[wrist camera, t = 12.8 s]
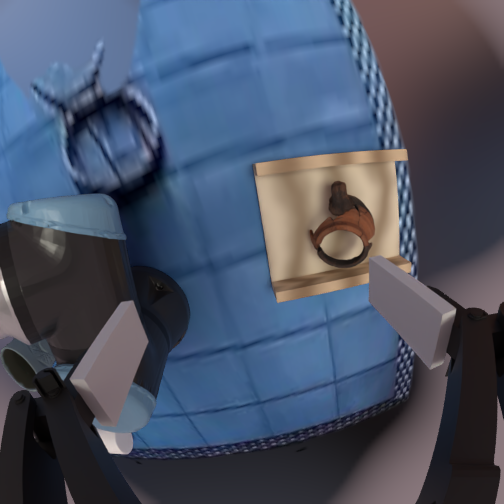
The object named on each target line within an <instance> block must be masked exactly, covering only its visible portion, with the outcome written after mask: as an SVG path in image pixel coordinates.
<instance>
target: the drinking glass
mask: <svg viewBox="0 0 504 504" xmlns="http://www.w3.org/2000/svg"><path fill="white" fill-rule="evenodd" d="M0 354H1V355H0V356H1V361H2V364H3V366H4V368H5V370H6V371H7V373H8V374H9V376H10V377H11V378H12V379H13V380H14V381H15V382H16V383H17V384H18V385H20V386H21V387H23V388H24V389H26V390H28V391H32V392H35V391H37V390H36V388H35V387H34V385H33V384H32V380H33V378H34V376H35V375H36V374H37V373H38V372H39V371H41V370H43V369H45V368H51V367H52V366H53V364H54V362H55V361H56V360H55V357H54V355H53V353H52V351H51V349H50V347H49V344H48V342H47V340H46V339H44V340H41V341H39V342H37V343H34V344H32V345H27V344H25V343H23V342H21V341H20V340H18V339H16V338H15V339H13V340H12V341H11V342H10V343H9V344H7V345H6V346H5V347H4V348H3V349H2V350H1V353H0Z"/></svg>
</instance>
